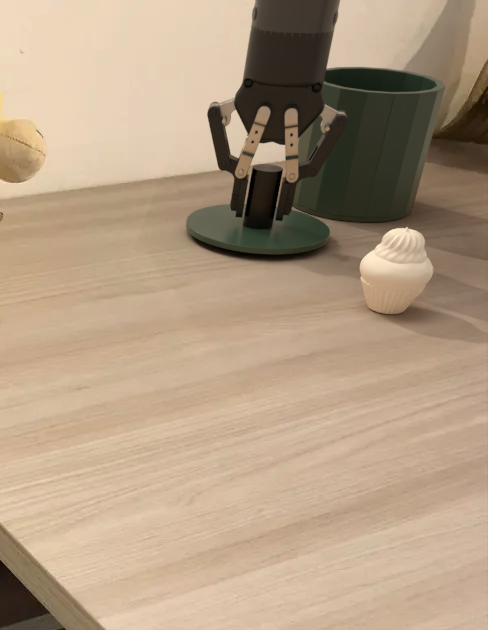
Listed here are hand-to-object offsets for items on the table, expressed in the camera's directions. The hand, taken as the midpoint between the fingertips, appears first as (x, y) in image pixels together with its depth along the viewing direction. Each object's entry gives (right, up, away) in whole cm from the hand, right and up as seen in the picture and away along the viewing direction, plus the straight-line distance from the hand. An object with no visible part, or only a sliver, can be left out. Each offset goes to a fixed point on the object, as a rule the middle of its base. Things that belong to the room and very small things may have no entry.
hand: (258, 216), depth 106 cm
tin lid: (0, -1, +1) cm, 1 cm away
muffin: (+8, -14, -13) cm, 21 cm away
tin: (+13, +6, +11) cm, 18 cm away
